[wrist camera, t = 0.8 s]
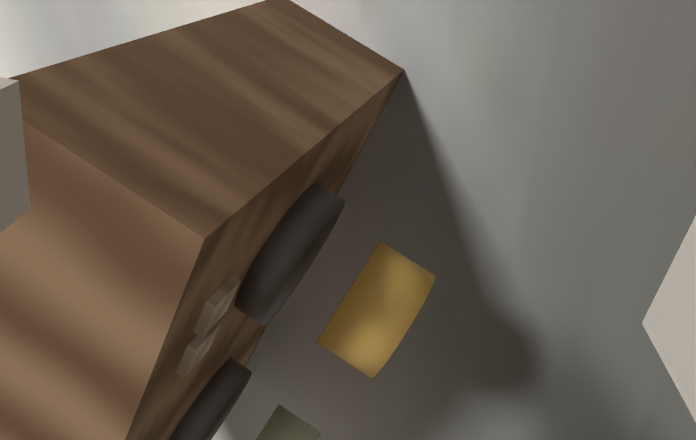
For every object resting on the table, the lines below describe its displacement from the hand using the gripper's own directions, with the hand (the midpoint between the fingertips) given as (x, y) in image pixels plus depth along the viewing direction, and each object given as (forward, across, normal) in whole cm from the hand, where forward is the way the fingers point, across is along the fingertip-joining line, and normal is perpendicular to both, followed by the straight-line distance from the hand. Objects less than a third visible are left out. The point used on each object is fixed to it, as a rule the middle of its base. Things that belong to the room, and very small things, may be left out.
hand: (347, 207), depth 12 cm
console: (+25, -6, -15) cm, 30 cm away
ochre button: (+15, +3, -11) cm, 19 cm away
